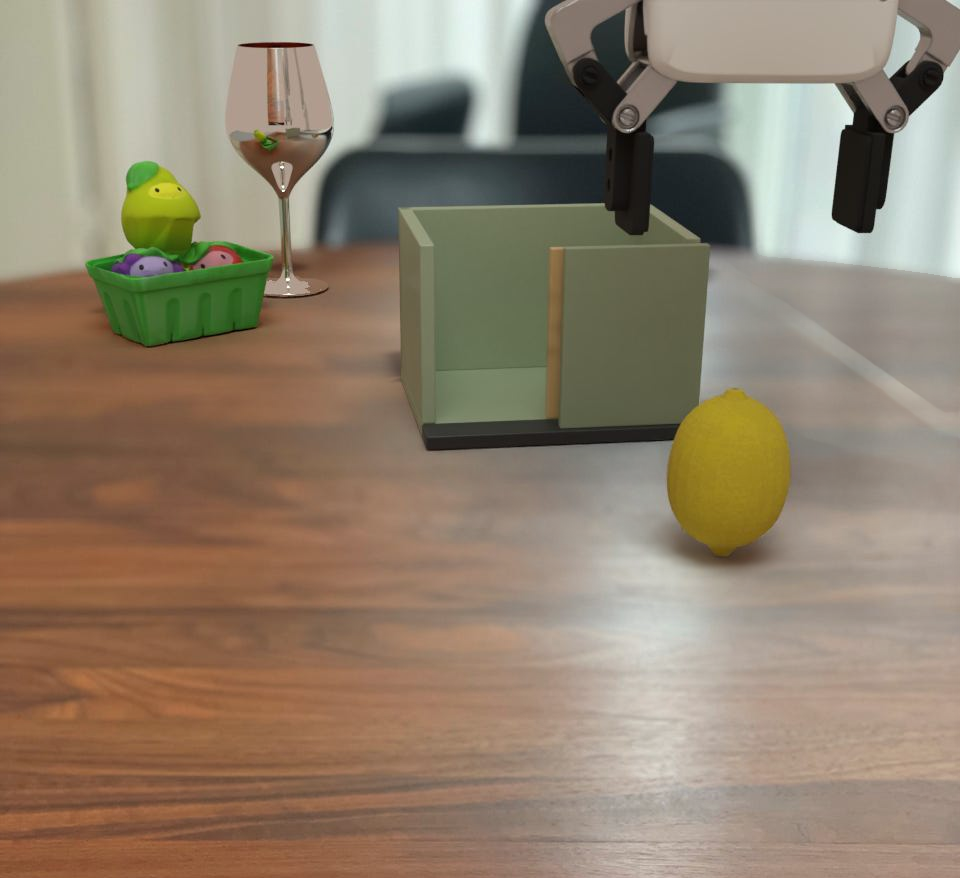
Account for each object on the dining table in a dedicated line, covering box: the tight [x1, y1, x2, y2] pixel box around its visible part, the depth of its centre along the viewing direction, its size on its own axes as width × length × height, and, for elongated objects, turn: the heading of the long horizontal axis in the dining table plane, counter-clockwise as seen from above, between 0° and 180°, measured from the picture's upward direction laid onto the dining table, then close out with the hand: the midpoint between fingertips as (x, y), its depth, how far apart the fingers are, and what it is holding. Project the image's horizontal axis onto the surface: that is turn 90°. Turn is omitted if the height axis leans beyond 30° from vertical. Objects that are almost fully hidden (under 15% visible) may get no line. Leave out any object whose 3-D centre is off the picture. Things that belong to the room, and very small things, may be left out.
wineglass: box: [224, 41, 335, 296], centre depth 115 cm, size 8×8×18 cm
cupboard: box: [397, 202, 711, 451], centre depth 88 cm, size 16×14×11 cm
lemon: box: [666, 387, 792, 557], centre depth 68 cm, size 6×6×8 cm
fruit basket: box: [84, 160, 274, 347], centre depth 105 cm, size 11×9×11 cm
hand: (742, 228), depth 63 cm, fingers open, 9 cm apart
